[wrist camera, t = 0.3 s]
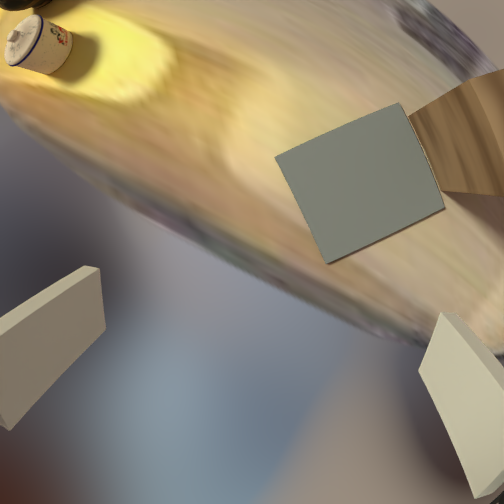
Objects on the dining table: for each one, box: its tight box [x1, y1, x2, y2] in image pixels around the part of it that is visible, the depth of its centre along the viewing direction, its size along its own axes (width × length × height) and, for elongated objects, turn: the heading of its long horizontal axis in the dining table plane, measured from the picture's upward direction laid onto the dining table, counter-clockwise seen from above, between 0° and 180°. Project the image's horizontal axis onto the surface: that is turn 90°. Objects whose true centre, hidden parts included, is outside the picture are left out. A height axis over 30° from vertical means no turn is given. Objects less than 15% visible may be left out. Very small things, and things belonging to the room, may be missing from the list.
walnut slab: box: [408, 69, 504, 197], centre depth 24 cm, size 5×10×16 cm, turn 27°
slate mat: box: [275, 102, 444, 264], centre depth 34 cm, size 17×14×1 cm
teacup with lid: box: [5, 15, 73, 74], centre depth 31 cm, size 12×9×12 cm
